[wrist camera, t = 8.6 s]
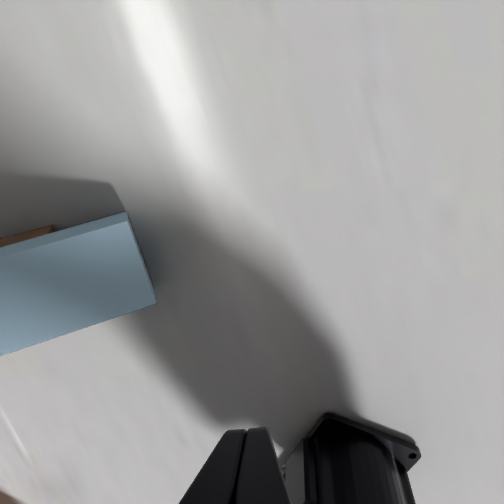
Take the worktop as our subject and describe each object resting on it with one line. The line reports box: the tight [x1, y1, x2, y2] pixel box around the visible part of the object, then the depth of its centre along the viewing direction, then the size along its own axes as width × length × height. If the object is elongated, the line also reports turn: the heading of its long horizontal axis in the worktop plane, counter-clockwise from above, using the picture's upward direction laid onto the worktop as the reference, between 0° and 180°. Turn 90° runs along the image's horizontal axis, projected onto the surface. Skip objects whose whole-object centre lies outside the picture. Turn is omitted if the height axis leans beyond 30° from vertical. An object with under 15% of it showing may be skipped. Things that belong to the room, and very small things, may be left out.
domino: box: [0, 212, 157, 356], centre depth 19 cm, size 2×4×8 cm
